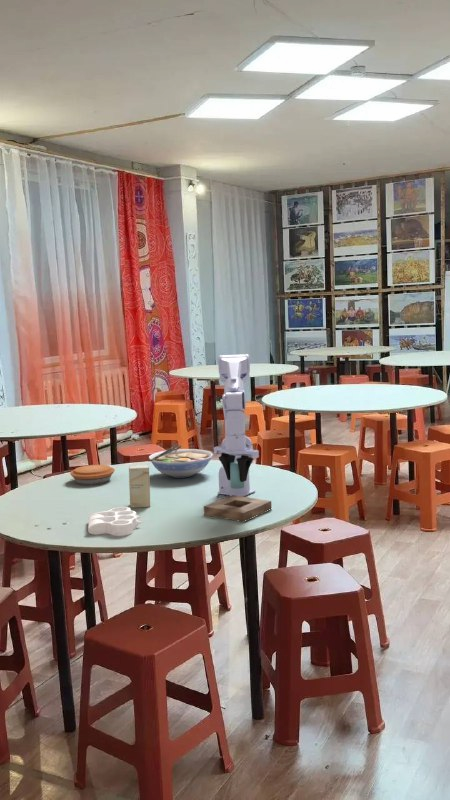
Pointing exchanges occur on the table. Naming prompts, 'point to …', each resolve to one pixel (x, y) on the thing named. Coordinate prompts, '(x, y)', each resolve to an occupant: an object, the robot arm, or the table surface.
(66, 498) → the table surface
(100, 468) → the pie
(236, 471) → the peg
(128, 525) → the paw shaped tray
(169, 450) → the ramen bowl
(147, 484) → the skincare box
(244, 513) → the socket block
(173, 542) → the table surface
